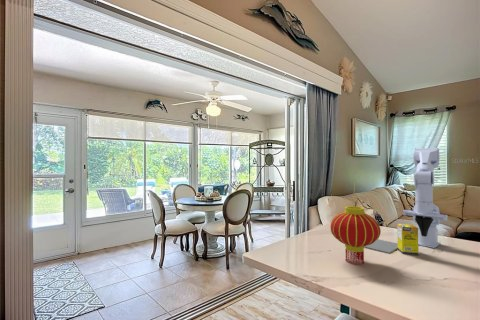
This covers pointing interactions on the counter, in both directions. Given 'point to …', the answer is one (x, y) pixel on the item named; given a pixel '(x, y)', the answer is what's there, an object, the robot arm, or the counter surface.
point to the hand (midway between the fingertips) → (424, 235)
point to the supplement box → (407, 239)
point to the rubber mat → (383, 246)
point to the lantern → (355, 231)
